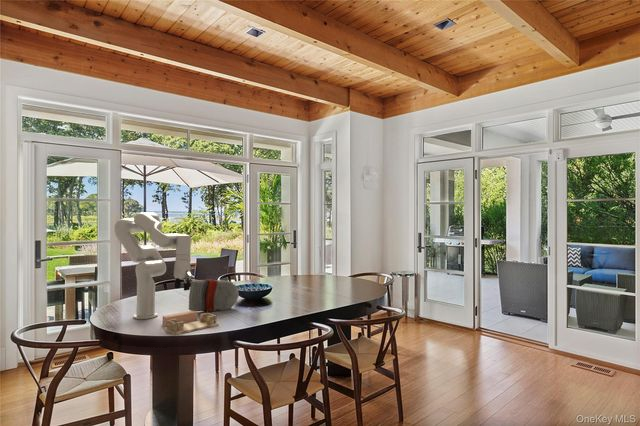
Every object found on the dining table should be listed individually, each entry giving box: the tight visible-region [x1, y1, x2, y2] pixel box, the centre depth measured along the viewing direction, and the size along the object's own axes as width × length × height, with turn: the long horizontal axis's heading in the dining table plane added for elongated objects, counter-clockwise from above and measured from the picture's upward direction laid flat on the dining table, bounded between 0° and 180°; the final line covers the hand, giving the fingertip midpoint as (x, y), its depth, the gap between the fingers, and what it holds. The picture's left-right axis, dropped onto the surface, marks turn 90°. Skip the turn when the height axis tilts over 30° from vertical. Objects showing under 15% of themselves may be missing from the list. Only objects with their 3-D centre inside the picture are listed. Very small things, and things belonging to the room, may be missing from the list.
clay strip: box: [161, 310, 198, 328], centre depth 213 cm, size 18×4×5 cm, turn 137°
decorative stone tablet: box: [188, 278, 240, 313], centre depth 241 cm, size 19×6×30 cm
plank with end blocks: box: [164, 312, 220, 336], centre depth 204 cm, size 24×12×5 cm, turn 137°
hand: (182, 288), depth 213 cm, fingers open, 9 cm apart
